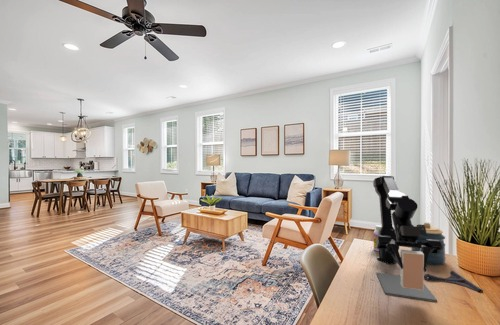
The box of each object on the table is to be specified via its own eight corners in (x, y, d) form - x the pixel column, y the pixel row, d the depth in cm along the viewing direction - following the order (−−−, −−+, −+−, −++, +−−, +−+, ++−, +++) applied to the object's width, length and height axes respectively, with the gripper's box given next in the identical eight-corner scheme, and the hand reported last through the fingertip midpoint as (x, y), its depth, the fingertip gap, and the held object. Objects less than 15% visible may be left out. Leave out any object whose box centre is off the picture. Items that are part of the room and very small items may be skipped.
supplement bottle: (370, 249, 124) (370, 225, 124) (379, 247, 126) (379, 223, 126) (382, 253, 117) (381, 228, 118) (391, 251, 120) (390, 226, 120)
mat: (376, 273, 96) (376, 272, 96) (419, 279, 91) (418, 277, 91) (385, 294, 81) (385, 292, 81) (437, 301, 76) (437, 300, 76)
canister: (428, 266, 102) (427, 226, 102) (404, 255, 115) (403, 220, 115) (453, 264, 104) (452, 225, 104) (427, 253, 117) (426, 218, 117)
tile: (400, 283, 79) (400, 249, 78) (421, 286, 77) (421, 251, 76) (402, 287, 76) (402, 252, 76) (424, 290, 74) (424, 254, 74)
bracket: (414, 272, 98) (414, 265, 98) (454, 274, 95) (454, 268, 95) (435, 291, 84) (435, 283, 84) (483, 294, 81) (483, 286, 81)
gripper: (377, 213, 82) (384, 257, 72) (441, 216, 76) (458, 265, 66) (373, 227, 90) (379, 269, 80) (430, 231, 84) (444, 276, 74)
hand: (413, 269), depth 75 cm, fingers closed on tile, 6 cm apart
